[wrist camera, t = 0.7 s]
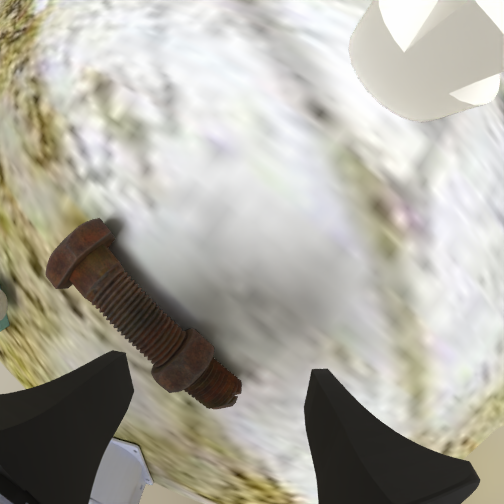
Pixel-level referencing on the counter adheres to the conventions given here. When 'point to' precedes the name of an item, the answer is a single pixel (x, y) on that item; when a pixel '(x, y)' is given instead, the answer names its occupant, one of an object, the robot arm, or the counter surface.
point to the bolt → (140, 317)
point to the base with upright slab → (430, 55)
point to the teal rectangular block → (3, 311)
